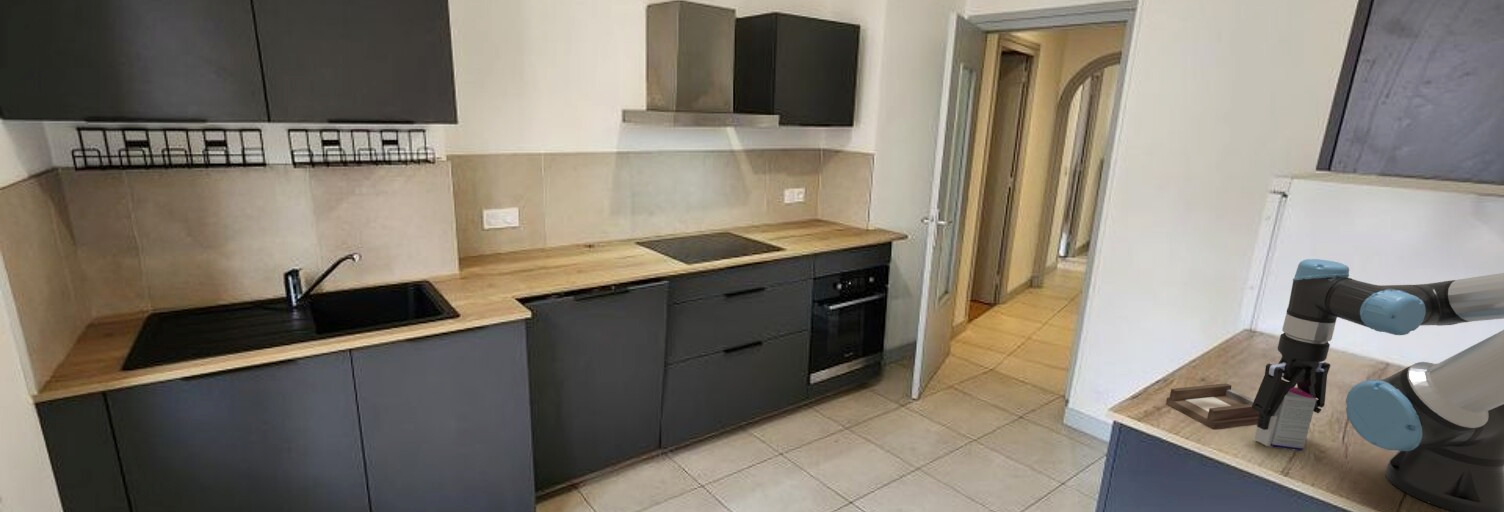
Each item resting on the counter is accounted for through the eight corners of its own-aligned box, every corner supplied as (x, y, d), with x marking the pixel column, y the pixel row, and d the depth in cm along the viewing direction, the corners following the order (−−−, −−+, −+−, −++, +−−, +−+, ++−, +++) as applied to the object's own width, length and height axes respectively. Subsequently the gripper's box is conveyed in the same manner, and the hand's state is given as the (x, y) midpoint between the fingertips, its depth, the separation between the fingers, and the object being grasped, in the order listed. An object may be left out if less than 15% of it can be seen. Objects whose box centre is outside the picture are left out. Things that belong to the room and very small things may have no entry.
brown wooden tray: (1271, 422, 141) (1275, 405, 140) (1213, 429, 137) (1217, 412, 136) (1221, 397, 152) (1224, 382, 151) (1165, 403, 148) (1169, 387, 147)
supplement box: (1304, 451, 129) (1317, 399, 126) (1271, 447, 130) (1283, 395, 127) (1287, 436, 135) (1299, 386, 132) (1255, 433, 136) (1267, 383, 133)
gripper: (1326, 327, 133) (1300, 426, 138) (1244, 333, 128) (1221, 436, 133) (1367, 340, 126) (1338, 444, 131) (1282, 347, 121) (1256, 455, 126)
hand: (1279, 440), depth 132 cm, fingers open, 9 cm apart
